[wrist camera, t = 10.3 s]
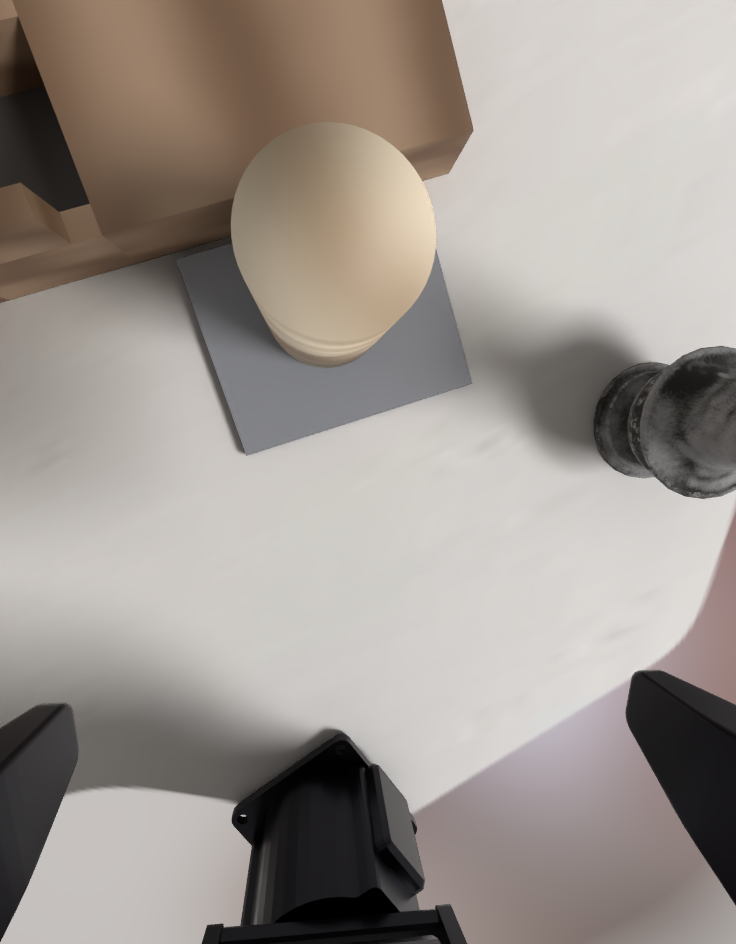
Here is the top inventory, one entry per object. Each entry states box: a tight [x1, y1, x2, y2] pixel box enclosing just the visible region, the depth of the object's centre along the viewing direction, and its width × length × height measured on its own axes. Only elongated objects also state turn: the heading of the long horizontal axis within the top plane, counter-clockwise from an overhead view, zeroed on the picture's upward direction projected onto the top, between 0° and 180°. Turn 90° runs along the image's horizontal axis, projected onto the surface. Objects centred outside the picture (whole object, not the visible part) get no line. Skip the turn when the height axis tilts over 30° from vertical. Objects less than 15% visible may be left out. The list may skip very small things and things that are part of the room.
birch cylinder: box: [231, 122, 436, 368], centre depth 15 cm, size 5×5×8 cm
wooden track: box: [0, 0, 473, 303], centre depth 15 cm, size 28×8×5 cm, turn 107°
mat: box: [176, 243, 472, 456], centre depth 19 cm, size 10×8×1 cm
